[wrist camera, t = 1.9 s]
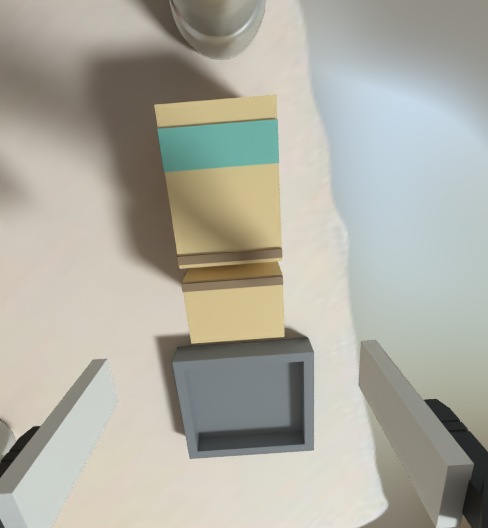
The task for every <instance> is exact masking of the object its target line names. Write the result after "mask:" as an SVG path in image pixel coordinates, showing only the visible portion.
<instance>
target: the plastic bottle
mask: <svg viewBox="0 0 488 528" xmlns="http://www.w3.org/2000/svg"><path fill="white" fill-rule="evenodd" d="M169 2H170V7H171V11H172V14H173V18H174V21H175V23H176V25H177V27H178V29H179V31H180V33H181V34H182V36H183V37H184V39H185V40H186V41H187V42H188V43H189V44H190V45H191V46H192V47H193V48H194V49H195V50H196V51H197V52H199V53H201V54H202V55H204V56H206V57H208V58H211V59H216V60H225V59H230V58H232V57H235V56H237V55H238V54H240V53H242V52H243V51H244V50H245V49H246V48H247V47H248V46H249V45H250V43H251V42H252V40H253V39H254V37H255V35H256V34H257V32H258V30H259V27H260V25H261V23H262V20H263V16H264V12H265V3H266V0H169Z"/></svg>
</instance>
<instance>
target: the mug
mask: <svg viewBox="0 0 488 528" xmlns="http://www.w3.org/2000/svg"><path fill="white" fill-rule="evenodd" d="M14 444H15V437H14V435H13V432H12V431H11V429H10V428H9V427H8V426H7V425H6V424H5V423H4V422H3V421H2V420H0V462H1V460H2V458H3V457H4V456H5V455H6V453H7V452H9V450H10V449H11V447H12V446H13V445H14Z"/></svg>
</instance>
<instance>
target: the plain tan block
mask: <svg viewBox="0 0 488 528" xmlns="http://www.w3.org/2000/svg"><path fill="white" fill-rule="evenodd" d="M182 291H183V293H184V299H185V306H186V312H187V319H188V325H189V332H190V338H191V344H193V343H206V342H220V341H234V340H248V339H261V338H275V337H285V335H284V307H283V276H282V272H281V270H280V267H279V264H278V262H277V261H275V262H262V263H248V264H235V265H222V266H209V267H196V268H189V269H188V271H187V273H186V275H185V277H184V279H183V281H182Z"/></svg>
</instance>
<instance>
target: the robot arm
mask: <svg viewBox="0 0 488 528" xmlns="http://www.w3.org/2000/svg"><path fill="white" fill-rule="evenodd" d="M359 387H360V389H361V391H362V393H363V394H364V396H365V398H366V400H367V402H368V404H369V405H370V407H371V409H372V411H373V413H374V415H375V416H376V418H377V420H378V422H379V424H380V426H381V427H382V429H383V431H384V433H385V435H386V437H387V438H388V440H389V442H390V444H391V446H392V448H393V449H394V451H395V453H396V455H397V457H398V459H399V461H400V462H401V464H402V466H403V468H404V470H405V472H406V473H407V475H408V477H409V479H410V481H411V482H412V484H413V486H414V488H415V490H416V492H417V494H418V495H419V497H420V499H421V501H422V503H423V505H424V506H425V508H426V510H427V512H428V514H429V516H430V517H431V519H432V521H433V523H434V525H435V527H436V528H447V527H460V524H461V520H462V516H463V515H464V516H465V518H466V519H467V521H468V523H469V524H470V526H471V527H472V528H488V452H487V450H486V449H485V448H484V447H483V446H482V445H481V444H480V443H479V441H478V440H477V439H476V438H475V437H474V436H473V434H472V433H471V432H469V431H468V429H467V428H466V426H465V425H464V424H463V423H462V422H460V420H459V418H458V417H457V416H456V415H455V414H454V413H453V411H451V409H450V408H449V407H447V406H446V405H444V404H443V403H441V402H440V401H438V400H437V399H428V400H423V399H422V398H421V396H420V395H419V394H418V393H417V391H416V390H415V389H414V387H413V386H412V385H411V384H410V382H409V381H408V380H407V379H406V377H405V376H404V375H403V374H402V372H401V371H400V370H399V368H398V367H397V366H396V365H395V364H394V362H393V361H392V360H391V359H390V357H389V356H388V355H387V353H386V352H385V351H384V350H383V348H382V347H381V346H380V345H379V343H378V342H377V341H376V340H367V341H361V348H360V366H359ZM117 403H118V397H117V394H116V390H115V386H114V382H113V378H112V374H111V370H110V366H109V362H108V359H96V360H92V362H91V363H90V364H89V365H88V367H87V368H86V369H85V370H84V372H83V373H82V374H81V376H80V377H79V378H78V379H77V381H76V382H75V383H74V385H73V386H72V387H71V388H70V390H69V391H68V392H67V393H66V395H65V396H64V397H63V399H62V400H61V401H60V402H59V404H58V405H57V406H56V408H55V409H54V410H53V411H52V413H51V414H50V415H49V416H48V418H47V419H46V420H45V422H44V423H43V424H42V425H41V426H34V427H32V428H31V429H30V430H29V431H27V432H26V433H25V434H24V435H22V436H21V437H20V438H19V439H18V440H17V441H16V443H15V444H14V445H13V446H12V447H11V449H10V450H9V452H7V453H6V455H5V456H4V457H3V458H2V460H1V462H0V528H51V527H52V526H53V524H54V522H55V520H56V518H57V516H58V514H59V512H60V511H61V509H62V507H63V505H64V503H65V501H66V499H67V497H68V495H69V494H70V492H71V490H72V488H73V486H74V484H75V482H76V480H77V479H78V477H79V475H80V473H81V471H82V469H83V467H84V465H85V463H86V462H87V460H88V458H89V456H90V454H91V452H92V450H93V448H94V447H95V445H96V443H97V441H98V439H99V437H100V435H101V433H102V431H103V430H104V428H105V426H106V424H107V422H108V420H109V418H110V416H111V415H112V413H113V411H114V409H115V407H116V405H117Z"/></svg>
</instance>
